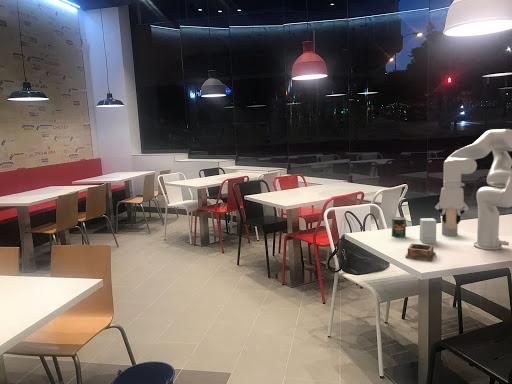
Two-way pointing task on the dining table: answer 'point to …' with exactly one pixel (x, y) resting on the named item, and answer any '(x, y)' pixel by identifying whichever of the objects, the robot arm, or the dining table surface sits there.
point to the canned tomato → (398, 227)
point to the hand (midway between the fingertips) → (451, 222)
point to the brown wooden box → (421, 252)
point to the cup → (448, 230)
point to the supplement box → (428, 230)
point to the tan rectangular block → (451, 218)
